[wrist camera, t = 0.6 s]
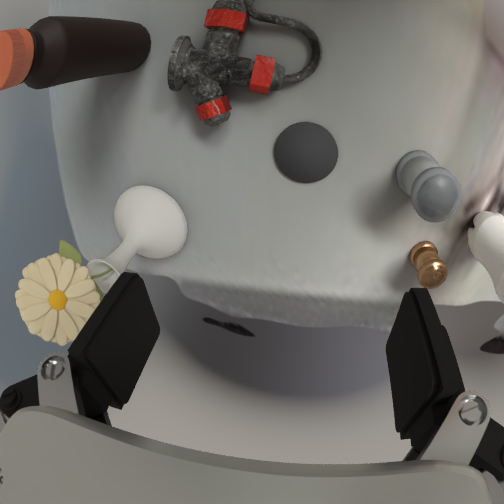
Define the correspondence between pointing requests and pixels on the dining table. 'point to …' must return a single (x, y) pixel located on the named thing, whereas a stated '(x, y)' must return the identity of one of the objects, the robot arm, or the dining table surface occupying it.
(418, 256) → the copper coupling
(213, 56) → the valve
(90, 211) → the dining table surface
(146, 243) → the flower in vase
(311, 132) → the pad
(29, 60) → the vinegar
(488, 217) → the water bottle
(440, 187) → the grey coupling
